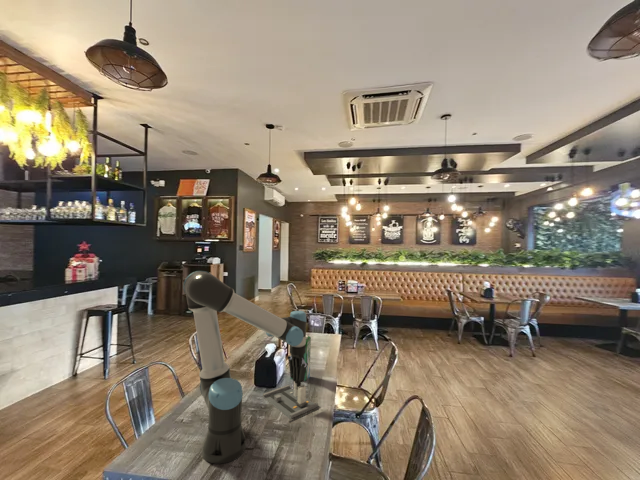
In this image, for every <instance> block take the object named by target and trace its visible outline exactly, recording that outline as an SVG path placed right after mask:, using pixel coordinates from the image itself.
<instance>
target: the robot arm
mask: <svg viewBox="0 0 640 480" xmlns="http://www.w3.org/2000/svg"><path fill="white" fill-rule="evenodd" d="M182 287H183V291H184V292H183V293H185V296H186V302H187V307H188V308H187V309H188V310H190V311H191V312H193V313H192V314H193V319H194V324H195V331H196V336H197V342H198V349H199V354H200V362H201V367H202V369H201V370H200V372H199V375H198V376H199V380H200V383H199V390H200V393H201V395H202V397H203V399H204V402H205V405H206V407H207V410H208V411H207V412H208V420H207V421H208V424H207V427H208V428H207V429H208V430H207V432H206V435H205V437H204V438H205V439H204V441H203V443H202V449H201V451H202V453H201V454H202V458H203V459H204V460H205V461H206V462H208V463H211V464H217V465H219V464H220V465H221V464H226V463H229V462H232V461H234V460H236V459H238V458H239V457H240V456H242V454H243V453H244V451H245V450H246V446H247V445H246V443H247V438H246V436H245V433H244V432H245V431H244V428H243V426H242V414H243V413H242V412H243V411H242V409H243V394H244V393H243V386H242V383H241V382H240V381H239V380H238V379H236V378H232V374H231V370H230V369H231V368H230V365H229V364H228V363H227V362H225V357H224V356H225V354H224V350H223V342H222V337H221V331H220V325H219V317H218V313H222V312H224V313H227V314H228V315H230V316H232V317H234V318H237V319H239V320H240V321H242V322H245V323H246V324H249V325H251V326H253V327H255V328H257V329H259V330H261V331H262V332H264V333H265V335H266V336H267V337H269V338H270V337H275V338H277V339H279V340H280V341H282V342H284V343H286V344H287V345H289V354H290V355H288V356H287V360H288V365H289V375H290V377H291V378H293V379H292V381H293V384H292V385H293V390H294V396H295V397H296V396H298V387H299V386H301V384H302V383H303V382H304V378H305V373H306V367H307V365H308V363H305V361H304V354H305V353H306V345H305V344H306V335H307V322H308V321H307V314H306V312H305V311H303V310H293V311H291V312H290V313H289V314H290V315H289V316H286V317H280V316H278V315H276V314H274V313H272V312H270V311H268V310H267V309H265V308H263V307H261V306H259V304H256V303H254V302H252V301H250V300H248V299H247V298H245V297H244V296H241V295H239V294H237V293H235V290H234V288H232V287H230V286H228V285H227V284H226V283H224V282H223V281H221V280H220V278H218V277H217V276H215V275H213V274H211V273H210V272H208V271H205V270H196V271H193V272H191V273H190V274H188V275H187V276H186V278H185V279H184V282H183V286H182ZM291 360H292V361H291ZM292 374H293V375H292Z"/></svg>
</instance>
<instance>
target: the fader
mask: <svg viewBox="0 0 640 480" xmlns="http://www.w3.org/2000/svg"><path fill="white" fill-rule="evenodd" d="M306 393H307V386H306V385H304V384H302V385H301V386H299V387H298V400H297V401H295V404H297V405H298V406H299V407H301V408H302V407H304V406H307V405H308V403H307V402H306V398H307V397H306V396H307V394H306Z"/></svg>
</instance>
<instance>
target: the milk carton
mask: <svg viewBox="0 0 640 480" xmlns="http://www.w3.org/2000/svg"><path fill="white" fill-rule="evenodd" d="M311 338H312V337H311V336H309V335H307V334H306V344H305V345H306V353H305V354H304V361H305V363H308V365H307V367H306V373H305V378H304V381H305V382H306V381H307V380H308V379H310V377H311V344H312V343H311V341H312V339H311ZM291 361H292V360H291ZM292 375H293V374H292ZM289 379H290V380H293V378H291V377H290V378H289ZM304 381H303V382H304Z"/></svg>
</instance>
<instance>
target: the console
mask: <svg viewBox="0 0 640 480" xmlns="http://www.w3.org/2000/svg"><path fill="white" fill-rule="evenodd" d="M261 397H262V398H263V399H264V400H266V401H267V403H269V404H270V405H272V406H273V407H275V409H277V410H278V411H279V412H281V413H282V414H283V415H284V416H285V417H287V418H288V419H289V420H290V421H289V422H288V423H293V422H295V421H297V420H300V419H301V418H303V417H306V416H309V415H310V414H313V413H314V412H316V411H319V409H320V408H318V407H320V406H319V403H317V402H313V401H311V400H310V399H309V398H307V397H306V402H307V403H308V405H307V406H304V407H302V408H301V407H299V406H298V405H297V404H295V401H297V400H298V396H296V397H295V396H294V388H292V387H291V385H290V384H287V385H284V386H281V387H278V388H276V389H273V390H269V391H267V392H264V393H263V394H262V396H261ZM309 411H310V412H309ZM304 413H305V414H304Z"/></svg>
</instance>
